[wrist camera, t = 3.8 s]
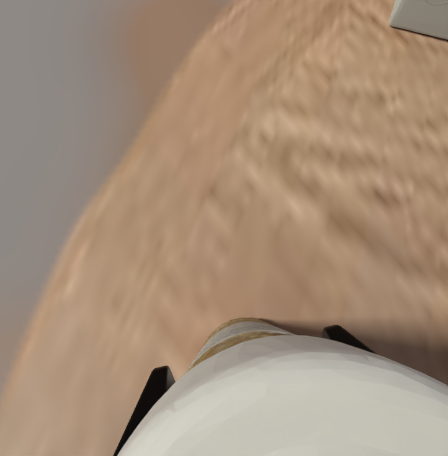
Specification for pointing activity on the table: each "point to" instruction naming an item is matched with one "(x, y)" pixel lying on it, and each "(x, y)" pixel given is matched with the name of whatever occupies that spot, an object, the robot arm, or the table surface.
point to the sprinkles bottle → (293, 401)
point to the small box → (421, 16)
